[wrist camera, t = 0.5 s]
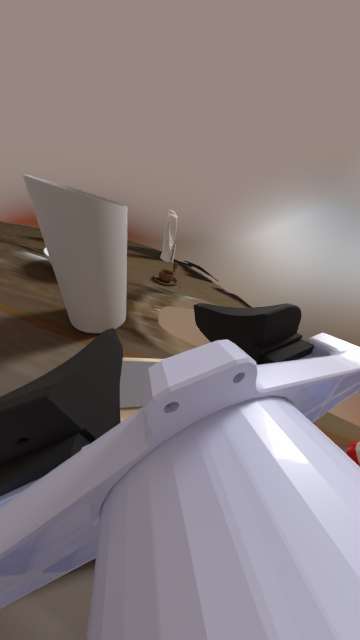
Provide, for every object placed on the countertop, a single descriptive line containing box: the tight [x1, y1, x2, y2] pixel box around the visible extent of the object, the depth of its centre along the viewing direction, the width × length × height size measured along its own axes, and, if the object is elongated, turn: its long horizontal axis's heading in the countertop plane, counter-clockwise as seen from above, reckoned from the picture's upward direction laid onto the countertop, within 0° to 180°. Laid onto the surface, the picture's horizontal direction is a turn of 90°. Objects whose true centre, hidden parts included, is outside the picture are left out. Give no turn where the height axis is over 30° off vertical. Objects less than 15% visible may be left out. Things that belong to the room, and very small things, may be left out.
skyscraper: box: [160, 209, 178, 262], centre depth 85 cm, size 8×8×28 cm
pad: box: [120, 361, 158, 409], centre depth 24 cm, size 8×8×1 cm
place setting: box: [154, 263, 182, 289], centre depth 67 cm, size 18×20×6 cm
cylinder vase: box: [23, 174, 127, 333], centre depth 28 cm, size 12×12×25 cm
